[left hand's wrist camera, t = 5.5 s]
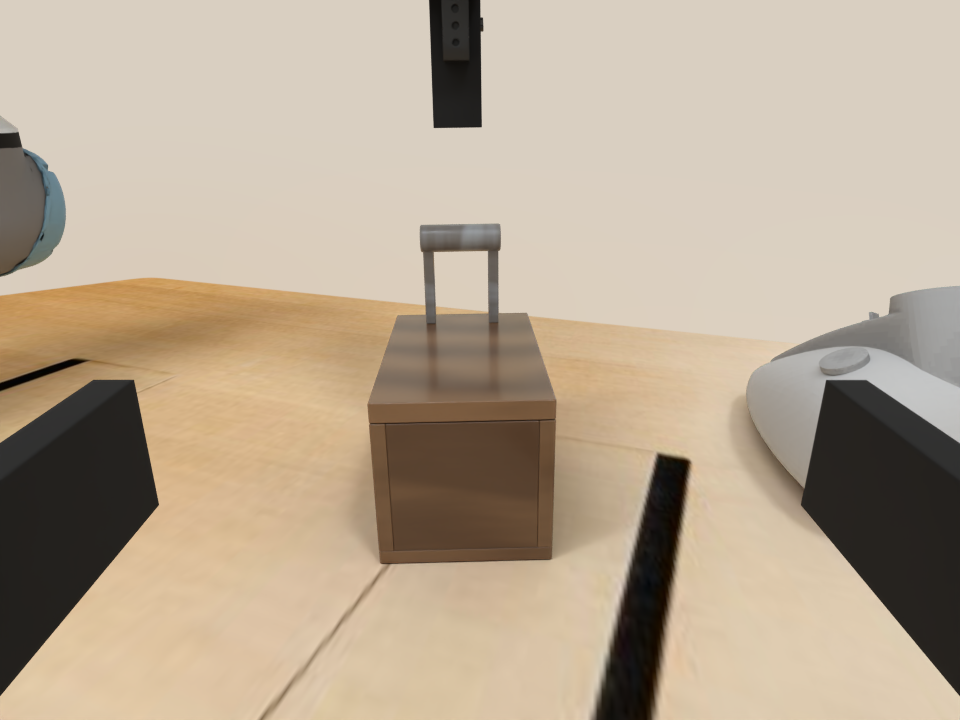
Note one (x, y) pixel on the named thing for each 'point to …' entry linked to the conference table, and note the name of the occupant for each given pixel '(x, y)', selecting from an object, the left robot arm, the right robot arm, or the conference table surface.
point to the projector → (864, 372)
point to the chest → (464, 490)
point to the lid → (461, 352)
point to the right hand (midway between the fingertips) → (458, 127)
